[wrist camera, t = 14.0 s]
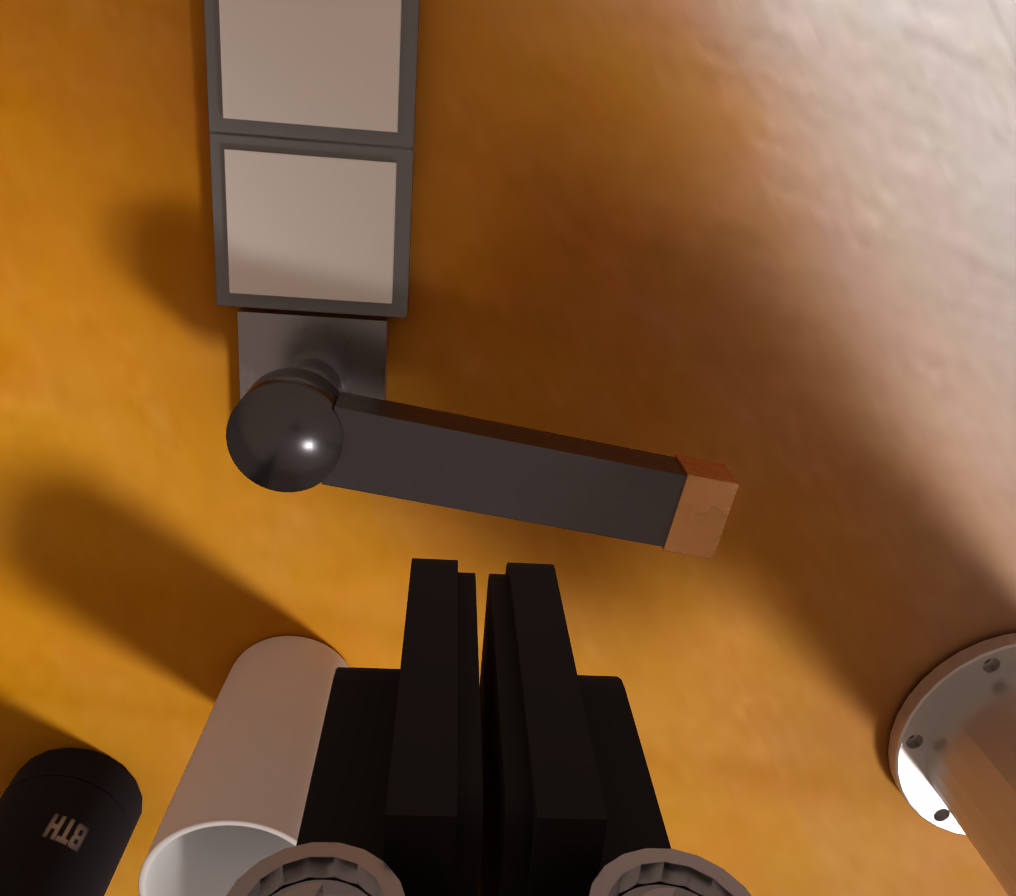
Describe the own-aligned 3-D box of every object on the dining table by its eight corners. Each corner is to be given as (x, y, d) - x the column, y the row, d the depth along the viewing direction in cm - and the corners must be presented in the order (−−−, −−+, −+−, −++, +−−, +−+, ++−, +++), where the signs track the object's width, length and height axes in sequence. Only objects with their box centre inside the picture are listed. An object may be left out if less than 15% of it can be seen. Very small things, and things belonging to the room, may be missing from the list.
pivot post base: (388, 317, 36) (379, 343, 32) (384, 450, 38) (375, 492, 34) (241, 307, 36) (213, 333, 31) (246, 442, 38) (219, 484, 33)
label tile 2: (413, 146, 34) (412, 147, 33) (407, 313, 36) (406, 319, 35) (215, 130, 33) (207, 131, 32) (221, 301, 35) (214, 306, 34)
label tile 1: (421, -42, 31) (420, -48, 30) (413, 149, 34) (412, 150, 33) (207, -64, 31) (198, -70, 30) (215, 133, 33) (207, 134, 32)
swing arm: (235, 457, 33) (220, 480, 31) (247, 358, 31) (232, 375, 29) (696, 543, 35) (710, 569, 33) (726, 453, 34) (743, 475, 32)
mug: (193, 681, 42) (97, 887, 31) (294, 603, 41) (232, 789, 30) (335, 802, 45) (295, 1028, 34) (433, 733, 44) (424, 945, 33)
